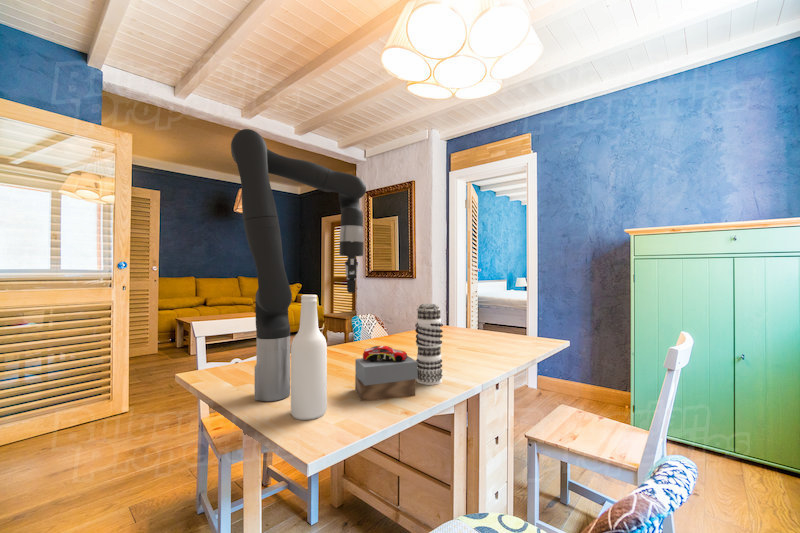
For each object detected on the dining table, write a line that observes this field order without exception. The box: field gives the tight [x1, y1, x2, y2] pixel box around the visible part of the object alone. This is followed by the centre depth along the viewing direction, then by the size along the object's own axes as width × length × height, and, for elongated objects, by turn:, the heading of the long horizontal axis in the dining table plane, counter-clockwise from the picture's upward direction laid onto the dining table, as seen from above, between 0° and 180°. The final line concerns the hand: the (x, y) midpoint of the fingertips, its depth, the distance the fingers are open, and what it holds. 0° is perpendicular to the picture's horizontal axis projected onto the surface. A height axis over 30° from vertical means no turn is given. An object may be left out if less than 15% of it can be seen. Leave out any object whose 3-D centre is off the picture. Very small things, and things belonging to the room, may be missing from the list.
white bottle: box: [290, 294, 328, 421], centre depth 89 cm, size 9×9×30 cm
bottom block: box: [354, 373, 416, 402], centre depth 105 cm, size 16×10×5 cm, turn 105°
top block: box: [354, 355, 418, 386], centre depth 104 cm, size 16×10×5 cm, turn 112°
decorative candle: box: [414, 303, 444, 386], centre depth 116 cm, size 9×9×25 cm
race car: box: [362, 345, 408, 362], centre depth 105 cm, size 13×5×4 cm, turn 86°
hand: (350, 292), depth 112 cm, fingers open, 8 cm apart
